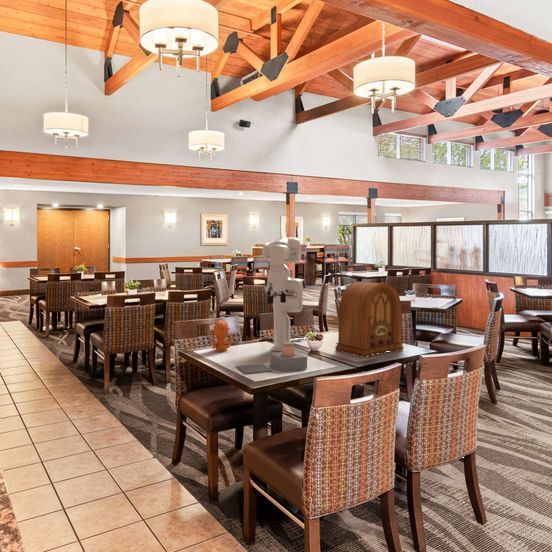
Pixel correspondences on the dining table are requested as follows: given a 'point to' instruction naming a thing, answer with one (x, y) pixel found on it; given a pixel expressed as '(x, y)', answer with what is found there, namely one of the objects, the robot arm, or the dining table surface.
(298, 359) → the grey square base
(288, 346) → the peach cylinder
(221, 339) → the toy dinosaur
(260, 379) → the dining table surface
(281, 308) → the robot arm
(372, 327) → the radio
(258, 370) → the mat
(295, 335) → the clipboard
